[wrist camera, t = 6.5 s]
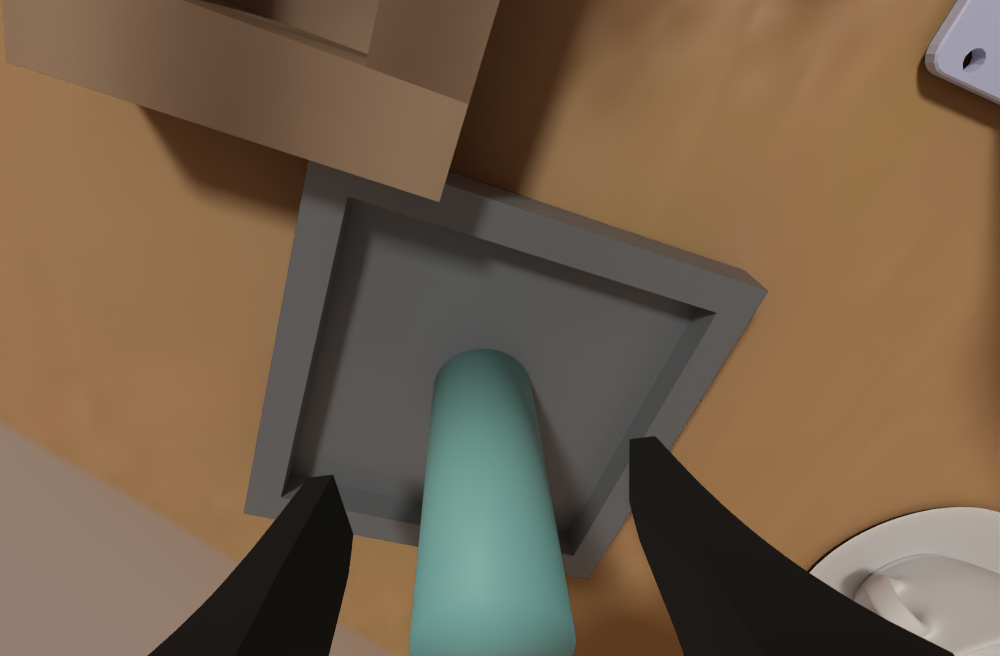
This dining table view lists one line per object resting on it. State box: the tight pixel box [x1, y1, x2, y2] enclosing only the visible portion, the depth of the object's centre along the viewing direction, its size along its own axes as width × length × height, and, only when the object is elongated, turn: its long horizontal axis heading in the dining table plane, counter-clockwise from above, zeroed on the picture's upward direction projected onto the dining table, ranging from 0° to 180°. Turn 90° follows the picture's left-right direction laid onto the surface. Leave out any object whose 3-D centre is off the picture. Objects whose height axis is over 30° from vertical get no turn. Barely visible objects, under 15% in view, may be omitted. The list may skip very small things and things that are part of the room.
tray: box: [244, 160, 768, 579], centre depth 17 cm, size 12×12×1 cm
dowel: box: [409, 349, 576, 656], centre depth 13 cm, size 3×3×8 cm
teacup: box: [810, 507, 1000, 656], centre depth 22 cm, size 10×10×5 cm
